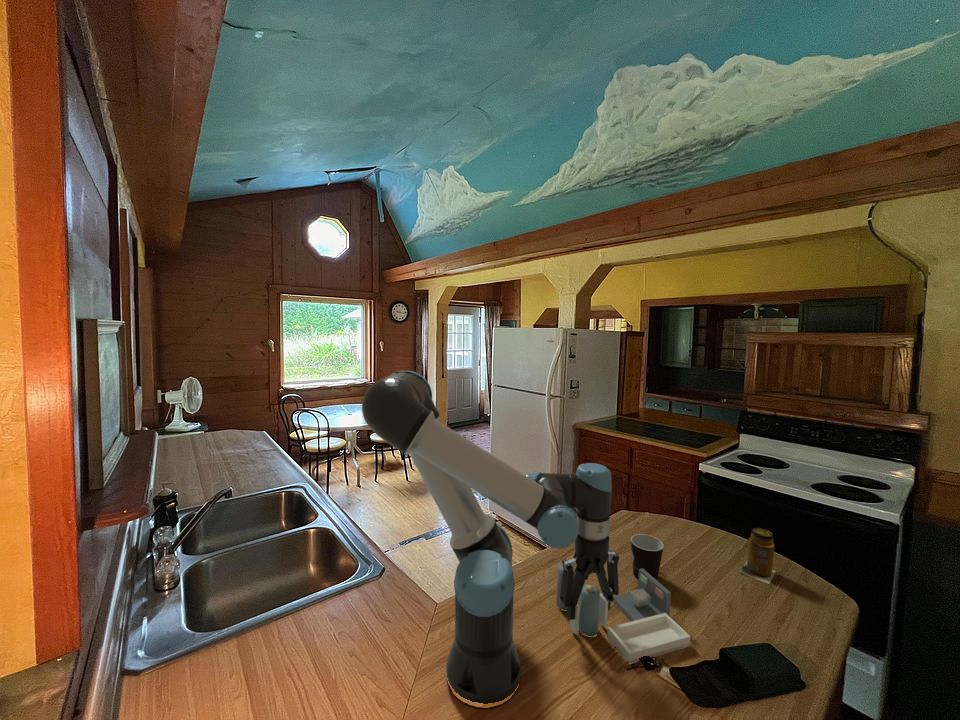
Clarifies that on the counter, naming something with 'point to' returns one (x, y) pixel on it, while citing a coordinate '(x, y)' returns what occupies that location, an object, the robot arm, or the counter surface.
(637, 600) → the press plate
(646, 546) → the coffee mug
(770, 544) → the condiment
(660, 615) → the trough
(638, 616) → the grey l-shaped piece
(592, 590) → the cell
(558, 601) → the cell
